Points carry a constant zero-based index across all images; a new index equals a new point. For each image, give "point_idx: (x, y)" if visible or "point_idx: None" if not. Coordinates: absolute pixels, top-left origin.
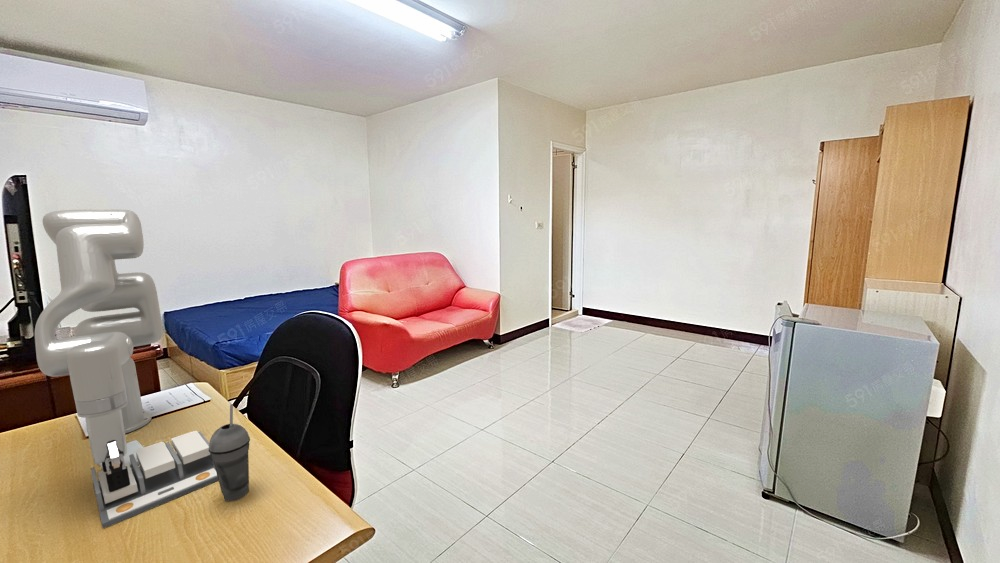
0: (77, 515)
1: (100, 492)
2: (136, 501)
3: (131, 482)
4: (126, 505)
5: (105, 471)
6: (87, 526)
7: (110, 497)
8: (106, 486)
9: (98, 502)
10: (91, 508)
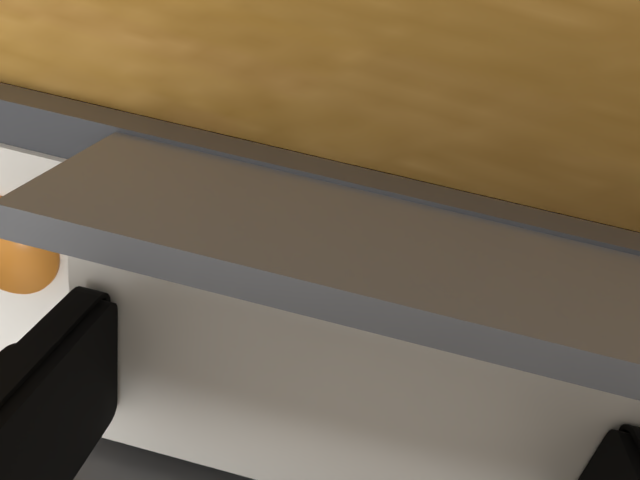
0: (331, 11)
1: (4, 238)
2: (36, 312)
3: (127, 423)
4: (19, 262)
5: (610, 434)
6: (65, 8)
7: None
8: (246, 312)
9: (59, 165)
10: (342, 119)
